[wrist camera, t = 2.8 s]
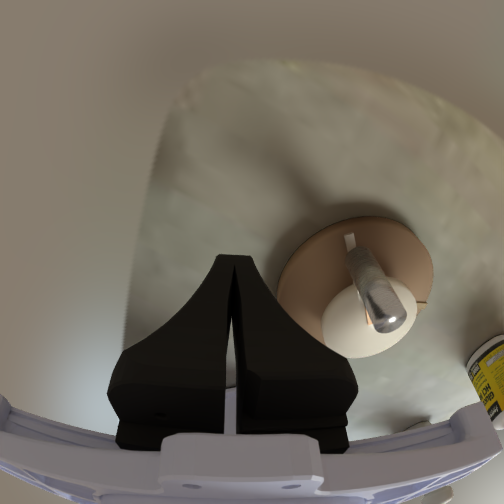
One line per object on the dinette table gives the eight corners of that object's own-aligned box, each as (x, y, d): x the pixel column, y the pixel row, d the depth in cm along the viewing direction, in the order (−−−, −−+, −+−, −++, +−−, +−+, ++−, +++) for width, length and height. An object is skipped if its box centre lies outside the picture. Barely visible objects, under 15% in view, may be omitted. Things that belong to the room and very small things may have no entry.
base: (299, 357, 22) (304, 381, 20) (253, 250, 17) (254, 274, 15) (424, 314, 21) (436, 334, 19) (421, 194, 15) (440, 211, 14)
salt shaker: (441, 417, 33) (468, 492, 22) (414, 437, 36) (435, 508, 25) (418, 418, 31) (445, 502, 20) (389, 438, 34) (409, 518, 23)
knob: (411, 329, 18) (437, 381, 14) (330, 358, 19) (344, 416, 15) (407, 228, 14) (452, 282, 10) (300, 265, 15) (318, 332, 11)
